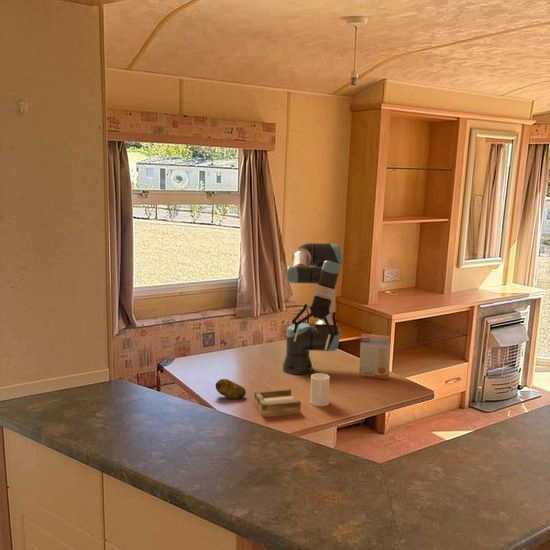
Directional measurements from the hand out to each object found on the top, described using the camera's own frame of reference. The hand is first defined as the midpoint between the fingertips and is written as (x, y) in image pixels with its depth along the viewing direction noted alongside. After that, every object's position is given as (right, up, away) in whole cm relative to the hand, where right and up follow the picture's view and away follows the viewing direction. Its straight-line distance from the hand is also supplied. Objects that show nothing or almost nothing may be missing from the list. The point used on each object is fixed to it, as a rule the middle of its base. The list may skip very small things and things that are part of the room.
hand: (309, 345), depth 239 cm
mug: (+4, -26, +5) cm, 27 cm away
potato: (-35, -25, +11) cm, 44 cm away
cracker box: (+34, -21, +40) cm, 56 cm away
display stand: (-14, -27, 0) cm, 30 cm away
